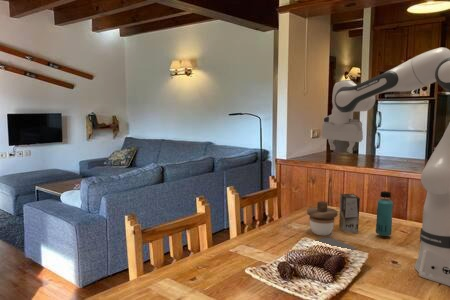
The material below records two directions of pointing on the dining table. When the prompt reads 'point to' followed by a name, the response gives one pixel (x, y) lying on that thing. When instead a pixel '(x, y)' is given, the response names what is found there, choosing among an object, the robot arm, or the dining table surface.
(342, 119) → the robot arm
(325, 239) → the mat
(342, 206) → the coffee box
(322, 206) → the lid
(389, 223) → the beverage bottle
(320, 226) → the lidded jar
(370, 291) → the dining table surface
